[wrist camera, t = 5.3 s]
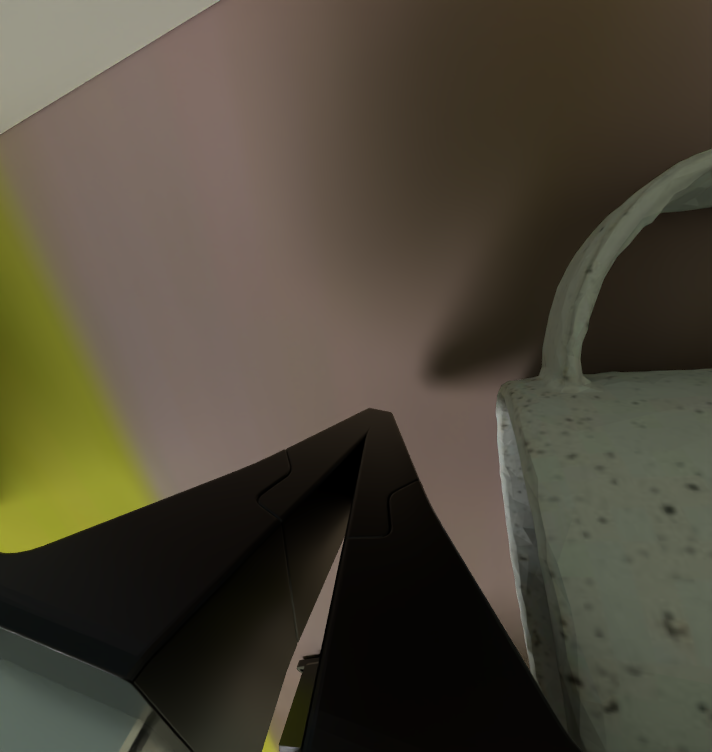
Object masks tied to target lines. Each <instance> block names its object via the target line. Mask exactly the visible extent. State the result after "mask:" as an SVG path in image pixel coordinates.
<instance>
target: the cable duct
mask: <svg viewBox="0 0 712 752" xmlns="http://www.w3.org/2000/svg"><path fill="white" fill-rule="evenodd" d="M218 1H220V0H0V134H2V133H3V132H5V131H7V130H8V129H10V128H12V127H13V126H15V125H17V124H18V123H20V122H21V121H23V120H25V119H26V118H28V117H30V116H31V115H33V114H35V113H36V112H38V111H40V110H41V109H43V108H44V107H46V106H48V105H49V104H51V103H53V102H54V101H56V100H58V99H59V98H61V97H62V96H64V95H66V94H67V93H69V92H71V91H72V90H74V89H76V88H77V87H79V86H81V85H82V84H84V83H85V82H87V81H89V80H90V79H92V78H94V77H95V76H97V75H99V74H100V73H102V72H103V71H105V70H107V69H108V68H110V67H112V66H113V65H115V64H117V63H118V62H120V61H122V60H123V59H125V58H126V57H128V56H130V55H131V54H133V53H135V52H136V51H138V50H140V49H141V48H143V47H144V46H146V45H148V44H149V43H151V42H153V41H154V40H156V39H158V38H159V37H161V36H163V35H164V34H166V33H167V32H169V31H171V30H172V29H174V28H176V27H177V26H179V25H181V24H182V23H184V22H185V21H187V20H189V19H190V18H192V17H194V16H195V15H197V14H199V13H200V12H202V11H204V10H205V9H207V8H208V7H210V6H212V5H213V4H215V3H217V2H218Z"/></svg>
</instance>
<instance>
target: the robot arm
mask: <svg viewBox="0 0 712 752" xmlns="http://www.w3.org/2000/svg"><path fill="white" fill-rule="evenodd" d="M344 536H345V537H344ZM343 539H344V542H343V547H342V551H341V556H340V561H339V566H338V571H337V575H336V580H335V585H334V590H333V595H332V600H331V604H330V609H329V614H328V619H327V624H326V628H325V633H324V638H323V643H322V648H321V652H320V657H318V658H312V659H305V660H300V661H299V663H298V666H297V670H298V671H299V672H301V673H302V675H301V678H300V681H299V684H298V687H297V691H296V694H295V697H294V700H293V703H292V706H291V709H290V712H289V715H288V718H287V721H286V724H285V727H284V730H283V733H282V736H281V740H280V743H279V751H280V752H583V751H582V750H581V749H580V748H579V747H578V745H577V744H576V743H575V742H574V741H573V739H572V738H571V737H570V735H569V734H568V732H567V731H566V730H565V728H564V727H563V725H562V723H561V722H560V720H559V718H558V717H557V715H556V713H555V712H554V710H553V708H552V707H551V705H550V703H549V702H548V700H547V698H546V697H545V695H544V693H543V692H542V690H541V689H540V687H539V685H538V684H537V682H536V680H535V679H534V677H533V675H532V674H531V672H530V670H529V669H528V667H527V665H526V664H525V662H524V660H523V659H522V657H521V655H520V654H519V652H518V650H517V649H516V647H515V645H514V644H513V642H512V640H511V639H510V637H509V635H508V634H507V632H506V630H505V629H504V627H503V625H502V624H501V622H500V620H499V619H498V617H497V616H496V614H495V612H494V611H493V609H492V607H491V606H490V604H489V602H488V601H487V599H486V597H485V596H484V594H483V592H482V591H481V589H480V587H479V586H478V584H477V582H476V581H475V579H474V577H473V576H472V574H471V572H470V571H469V569H468V567H467V566H466V564H465V562H464V561H463V559H462V557H461V556H460V554H459V552H458V551H457V549H456V547H455V546H454V544H453V543H452V541H451V539H450V538H449V536H448V534H447V533H446V531H445V529H444V528H443V526H442V524H441V522H440V521H439V519H438V517H437V515H436V514H435V512H434V510H433V508H432V506H431V504H430V502H429V500H428V498H427V495H426V493H425V491H424V489H423V486H422V484H421V482H420V480H419V477H418V475H417V472H416V470H415V468H414V465H413V463H412V460H411V458H410V455H409V453H408V450H407V448H406V446H405V443H404V441H403V438H402V436H401V433H400V431H399V428H398V426H397V424H396V421H395V419H394V416H393V414H392V413H391V412H388V411H382V410H377V409H372V408H368V409H366V410H364V411H362V412H360V413H358V414H356V415H354V416H352V417H350V418H348V419H346V420H344V421H342V422H340V423H338V424H336V425H334V426H332V427H330V428H328V429H326V430H324V431H321V432H319V433H317V434H315V435H313V436H311V437H309V438H307V439H305V440H303V441H301V442H299V443H297V444H295V445H293V446H291V447H289V448H287V449H286V450H282V451H280V452H278V453H276V454H274V455H272V456H270V457H267V458H265V459H263V460H261V461H259V462H257V463H254V464H252V465H250V466H247V467H245V468H242V469H240V470H237V471H235V472H232V473H230V474H227V475H225V476H222V477H220V478H217V479H214V480H212V481H209V482H207V483H204V484H201V485H199V486H196V487H194V488H191V489H189V490H186V491H183V492H181V493H178V494H176V495H173V496H171V497H168V498H165V499H163V500H160V501H158V502H155V503H152V504H150V505H147V506H145V507H142V508H140V509H137V510H134V511H132V512H129V513H127V514H124V515H122V516H119V517H116V518H114V519H111V520H109V521H106V522H104V523H101V524H98V525H96V526H93V527H91V528H88V529H85V530H83V531H80V532H78V533H75V534H73V535H70V536H67V537H65V538H62V539H60V540H57V541H55V542H52V543H49V544H47V545H44V546H41V547H38V548H35V549H32V550H28V551H23V552H18V553H2V552H0V752H262V749H263V746H264V742H265V739H266V736H267V733H268V730H269V726H270V723H271V720H272V717H273V713H274V710H275V707H276V704H277V701H278V697H279V694H280V691H281V688H282V684H283V681H284V678H285V675H286V672H287V669H288V667H289V664H290V661H291V659H292V656H293V654H294V651H295V649H296V646H297V642H299V640H300V637H301V635H302V633H303V631H304V628H305V626H306V624H307V621H308V619H309V617H310V614H311V612H312V610H313V608H314V605H315V603H316V601H317V598H318V596H319V594H320V591H321V589H322V587H323V585H324V582H325V580H326V578H327V575H328V573H329V571H330V569H331V566H332V564H333V562H334V559H335V557H336V555H337V552H338V550H339V548H340V546H341V543H342V541H343Z"/></svg>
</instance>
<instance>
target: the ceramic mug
mask: <svg viewBox="0 0 712 752" xmlns="http://www.w3.org/2000/svg"><path fill="white" fill-rule="evenodd" d="M709 207H712V149H709V150H707V151H704V152H701V153H698V154H696V155H693V156H691V157H689V158H688V159H685V160H683V161H680V162H678V163H677V164H675V165H674V166H672V167H671V168H669V169H668V170H667V171H665V172H664V173H662V174H661V175H659V176H658V177H656V178H655V179H653V180H652V181H651V182H649V183H648V184H647V185H645V186H644V187H643V188H641V189H640V190H638V191H637V192H636V193H634V194H633V195H632V196H631V197H630V198H628V199H627V200H626V201H625V202H624V203H623V204H622V205H621V206H620V207H618V208H617V209H616V210H614V211H613V212H612V213H610V214H609V215H608V216H607V217H606V218H605V219H604V220H603V221H602V222H601V223H600V224H599V226H598V227H597V228H596V229H595V230H594V231H593V232H592V233H591V234H590V236H589V237H588V238H587V240H586V241H585V242H584V243H583V245H582V246H581V247H580V249H579V250H578V251H577V252H576V254H575V255H574V257H573V259H572V260H571V262H570V264H569V265H568V267H567V269H566V271H565V273H564V275H563V277H562V279H561V281H560V283H559V285H558V287H557V290H556V294H555V297H554V300H553V303H552V307H551V310H550V313H549V318H548V323H547V328H546V333H545V338H544V343H543V348H542V368H541V371H540V373H539V376H537V377H533V378H527V379H521V380H514V381H508V382H506V383H505V384H503V385H501V388H500V390H499V392H498V395H497V403H496V417H497V428H498V431H497V443H498V453H499V463H500V477H501V481H502V493H503V500H504V507H505V517H506V525H507V532H508V538H509V548H510V557H511V562H512V567H513V572H514V577H515V585H516V593H517V598H518V602H519V607H520V611H521V616H520V617H521V621H522V625H523V631H524V638H525V644H526V648H527V653H528V657H529V664H530V671H531V674H532V675H533V677H534V679H535V680H536V682H537V684H538V685H539V687H540V689H541V690H542V692H543V693H544V695H545V697H546V698H547V700H548V702H549V703H550V705H551V707H552V708H553V710H554V712H555V713H556V715H557V717H558V718H559V720H560V722H561V723H562V725H563V727H564V728H565V730H566V731H567V732H568V734H569V735H570V737H571V738H572V739H573V741H574V742H575V743H576V744H577V745H578V747H579V748H580V749H581V750H582V751H583V752H712V369H696V370H669V371H646V372H616V371H613V372H606V373H598V374H582V367H581V361H580V358H581V350H582V342H583V340H584V337H585V335H586V333H587V331H588V326H589V319H590V316H591V313H592V310H593V308H594V305H595V302H596V299H597V297H598V294H599V291H600V288H601V285H602V283H603V280H604V278H605V276H606V274H607V273H608V271H609V269H610V268H611V266H612V264H613V263H614V261H615V259H616V258H617V256H618V255H619V254H620V253H621V252H622V251H623V250H624V249H625V248H626V247H627V246H628V245H629V244H630V243H631V242H632V240H633V239H634V238H635V237H636V236H637V234H638V233H639V232H640V231H641V229H642V228H643V227H645V226H647V225H649V224H651V223H652V222H653V221H654V220H655V218H656V217H657V216H658V215H659V214H660V213H664V212H680V211H687V210H695V209H702V208H709Z"/></svg>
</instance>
